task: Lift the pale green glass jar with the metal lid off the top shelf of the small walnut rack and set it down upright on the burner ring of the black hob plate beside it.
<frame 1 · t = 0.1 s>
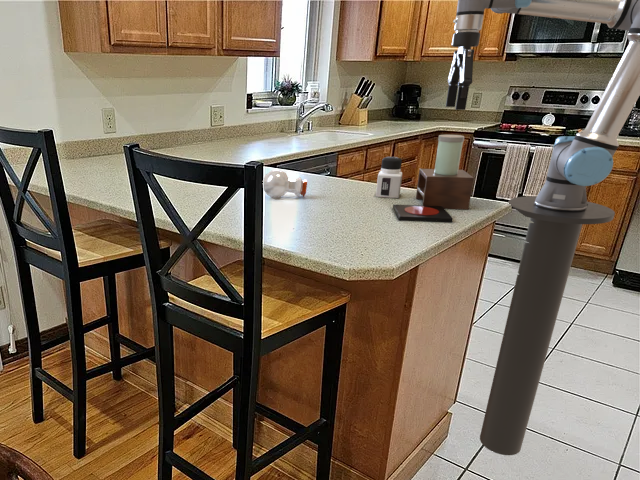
hand: (455, 108, 163), 29 cm above the breakfast bar, tool pointing down, fingers open, 13 cm apart
hob plate: (420, 214, 160), on the breakfast bar
jar: (445, 173, 169), point 10 cm above the breakfast bar, touching rack
container: (387, 195, 184), on the breakfast bar
potion bottle: (284, 197, 182), on the breakfast bar
rack: (440, 203, 173), on the breakfast bar
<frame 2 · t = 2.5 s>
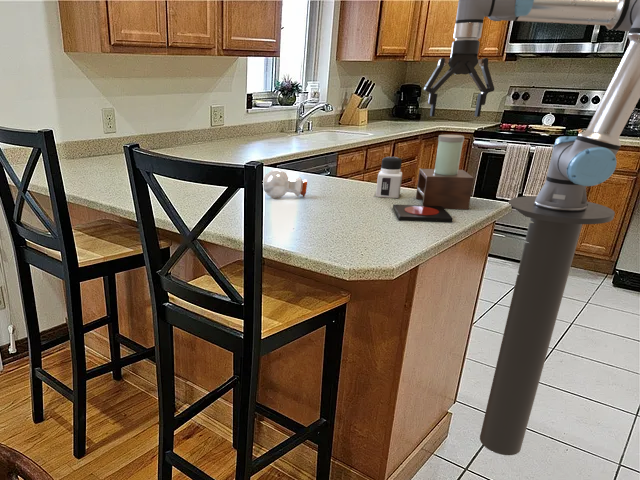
hand: (454, 116, 162), 27 cm above the breakfast bar, tool pointing down, fingers open, 13 cm apart
nothing on the breakfast bar moved.
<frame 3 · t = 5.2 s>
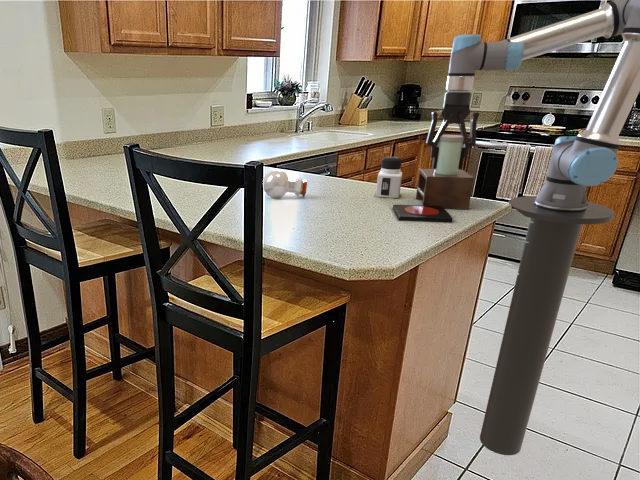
hand: (446, 168, 168), 12 cm above the breakfast bar, tool pointing down, fingers closed on jar, 7 cm apart
jar: (445, 173, 169), point 10 cm above the breakfast bar, touching gripper, rack
everything else where it was.
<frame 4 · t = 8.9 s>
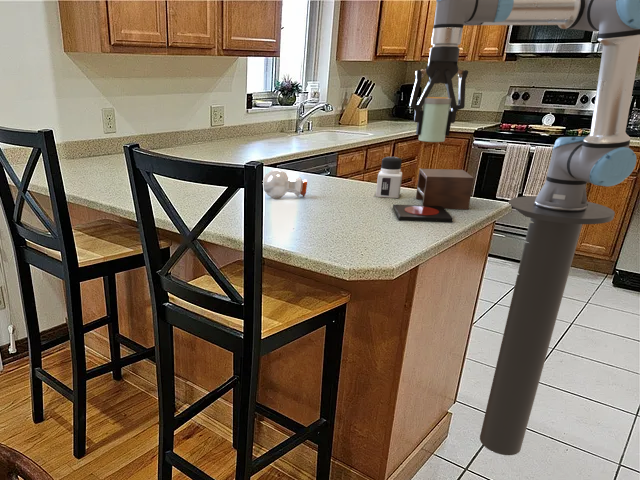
hand: (432, 134, 150), 23 cm above the breakfast bar, tool pointing down, fingers closed on jar, 7 cm apart
jar: (431, 140, 151), point 22 cm above the breakfast bar, touching gripper
everything else where it was.
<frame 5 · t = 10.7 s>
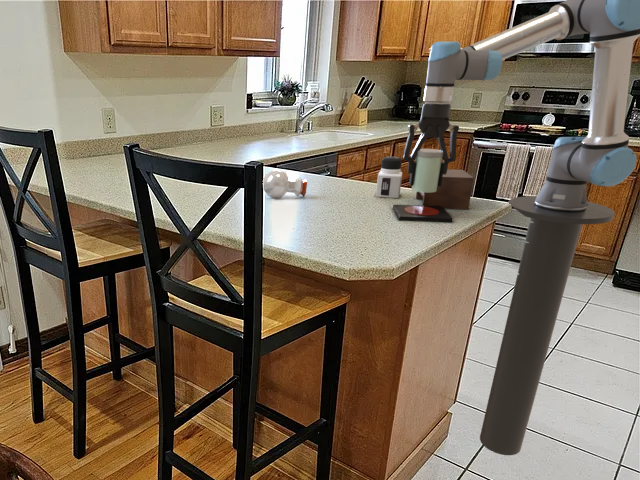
hand: (424, 184, 156), 9 cm above the breakfast bar, tool pointing down, fingers closed on jar, 7 cm apart
jar: (424, 190, 157), point 8 cm above the breakfast bar, touching gripper
everything else where it was.
when the fingers open (3 cm above the breakfast bar, at t = 12.5 s): jar stays where it is, resting on hob plate.
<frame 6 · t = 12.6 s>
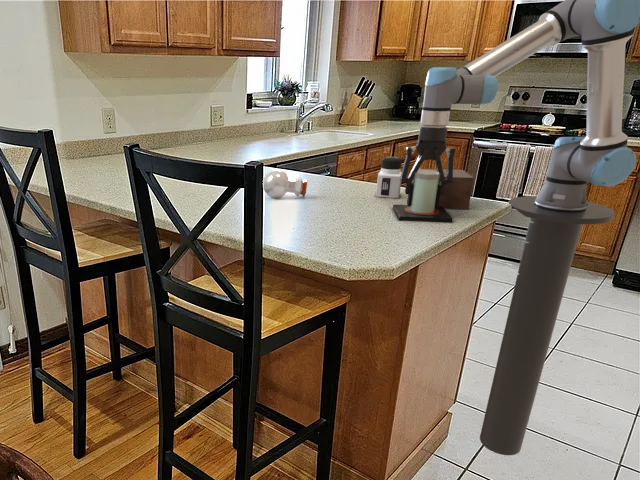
hand: (422, 205, 158), 3 cm above the breakfast bar, tool pointing down, fingers open, 7 cm apart
jar: (421, 210, 159), point 1 cm above the breakfast bar, touching hob plate
everything else where it was.
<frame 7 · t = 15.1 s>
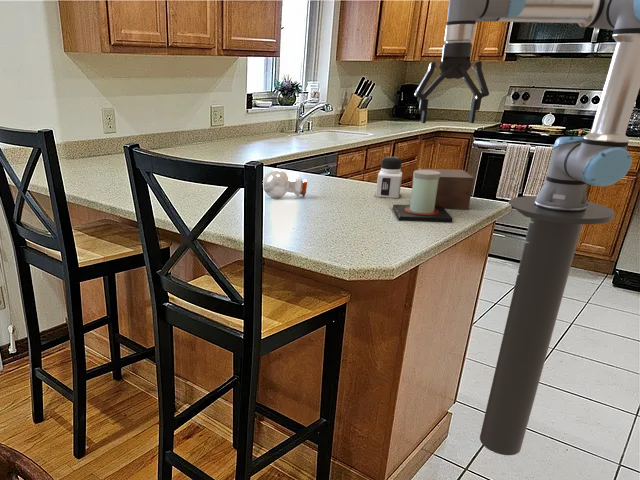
hand: (447, 122, 154), 26 cm above the breakfast bar, tool pointing down, fingers open, 13 cm apart
nothing on the breakfast bar moved.
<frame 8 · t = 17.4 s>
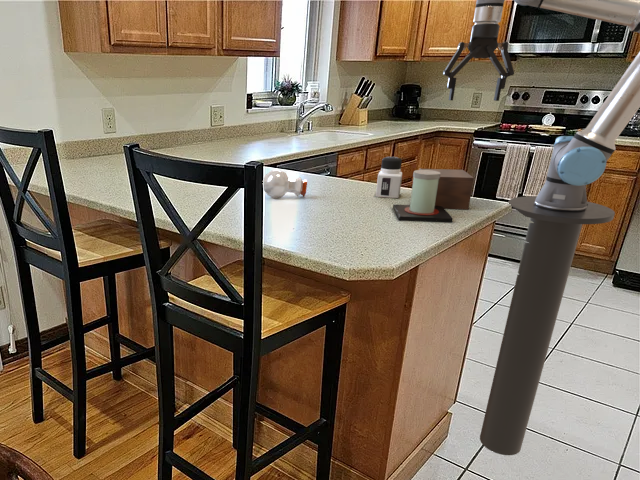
hand: (473, 100, 164), 32 cm above the breakfast bar, tool pointing down, fingers open, 13 cm apart
nothing on the breakfast bar moved.
at the end: jar inside the target area on the hob plate (0.0 cm from its centre), point 1.4 cm above the hob plate's base; jar tilted 0°; the gripper is holding nothing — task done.
